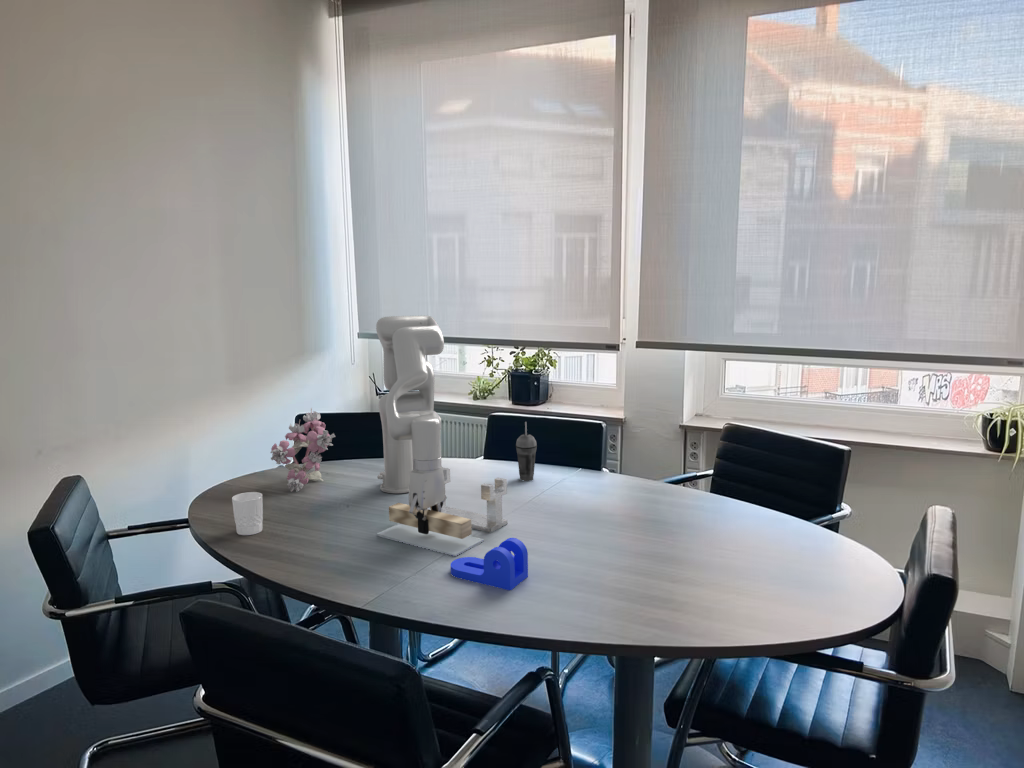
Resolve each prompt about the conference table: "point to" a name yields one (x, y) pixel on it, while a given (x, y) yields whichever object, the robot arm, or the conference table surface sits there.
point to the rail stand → (493, 506)
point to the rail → (432, 521)
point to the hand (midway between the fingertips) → (429, 529)
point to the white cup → (248, 513)
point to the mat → (430, 539)
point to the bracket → (495, 566)
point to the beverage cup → (526, 455)
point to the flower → (312, 444)
